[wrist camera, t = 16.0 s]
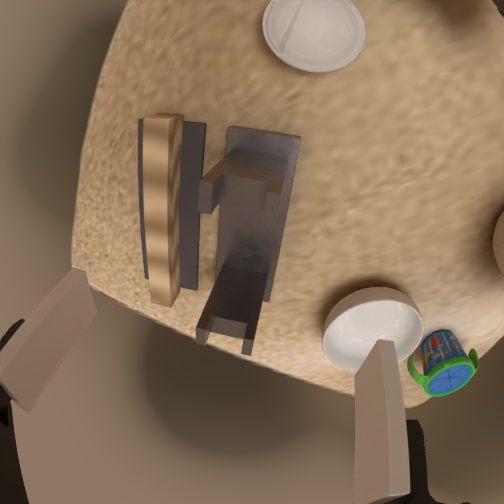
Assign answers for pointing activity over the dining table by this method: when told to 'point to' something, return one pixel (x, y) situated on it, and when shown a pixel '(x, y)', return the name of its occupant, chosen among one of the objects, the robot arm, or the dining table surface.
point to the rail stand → (246, 228)
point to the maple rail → (162, 204)
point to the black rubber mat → (182, 200)
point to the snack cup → (443, 364)
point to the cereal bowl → (371, 326)
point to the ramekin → (314, 33)
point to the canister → (499, 242)
